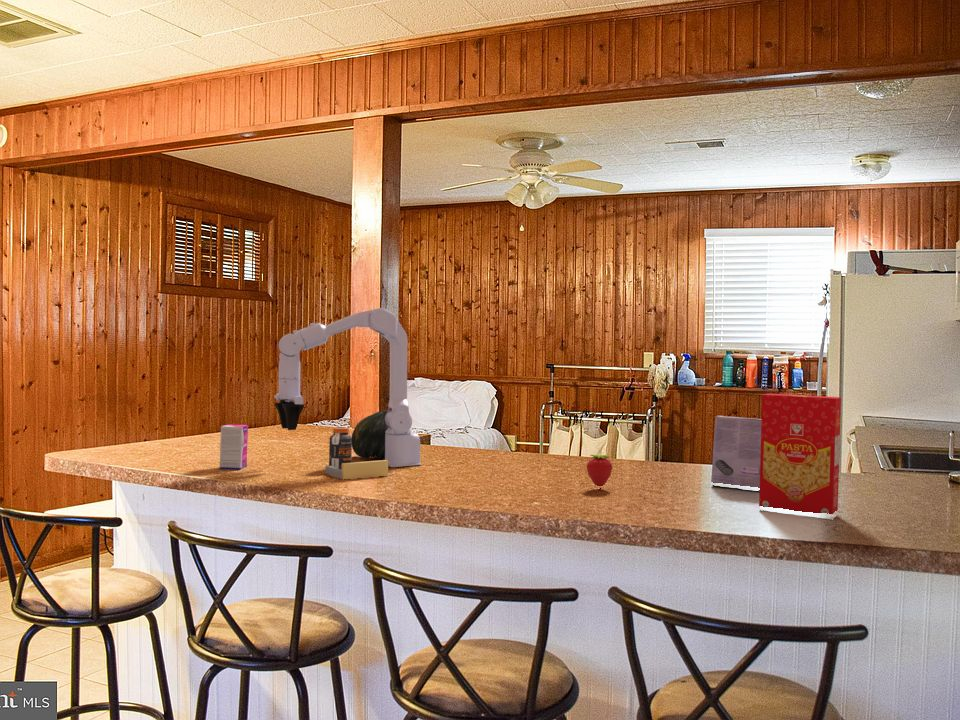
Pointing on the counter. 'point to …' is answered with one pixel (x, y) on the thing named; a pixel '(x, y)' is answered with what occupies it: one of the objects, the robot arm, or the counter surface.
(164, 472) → the counter surface
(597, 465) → the strawberry
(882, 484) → the counter surface
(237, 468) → the supplement box
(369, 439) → the squash
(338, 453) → the pill bottle
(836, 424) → the food packaging
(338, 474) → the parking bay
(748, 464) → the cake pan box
